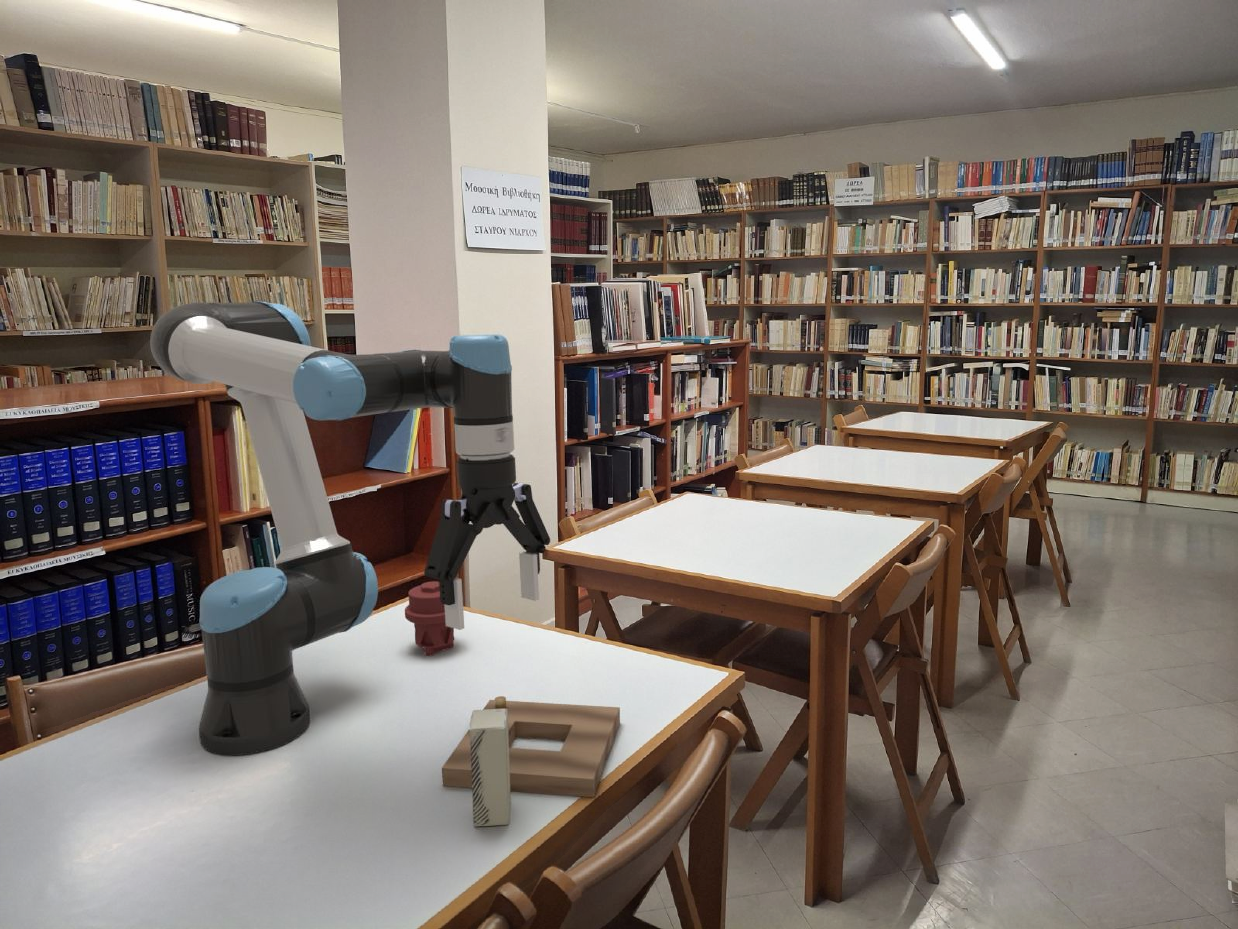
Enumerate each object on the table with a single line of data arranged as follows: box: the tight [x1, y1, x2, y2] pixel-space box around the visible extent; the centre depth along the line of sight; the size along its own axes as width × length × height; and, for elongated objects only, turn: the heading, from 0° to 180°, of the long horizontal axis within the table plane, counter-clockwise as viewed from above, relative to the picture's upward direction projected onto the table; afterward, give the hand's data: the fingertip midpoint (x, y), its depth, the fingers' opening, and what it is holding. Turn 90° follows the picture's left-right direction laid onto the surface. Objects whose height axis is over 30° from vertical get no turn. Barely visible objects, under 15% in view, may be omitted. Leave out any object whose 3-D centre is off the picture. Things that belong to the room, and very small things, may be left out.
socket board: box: [441, 695, 621, 798], centre depth 119 cm, size 20×20×4 cm
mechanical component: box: [404, 580, 455, 657], centre depth 156 cm, size 12×10×10 cm
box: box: [468, 709, 512, 827], centre depth 103 cm, size 5×4×13 cm
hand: (494, 612), depth 114 cm, fingers open, 13 cm apart
